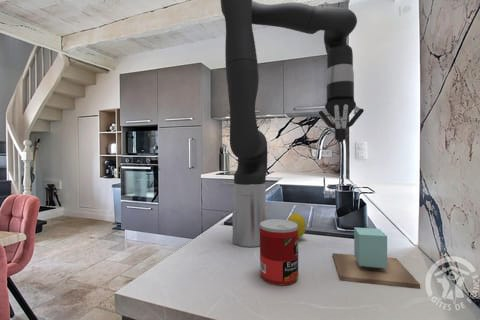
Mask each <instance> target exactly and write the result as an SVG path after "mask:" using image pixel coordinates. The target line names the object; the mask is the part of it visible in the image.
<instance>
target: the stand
mask: <svg viewBox="0 0 480 320" xmlns="http://www.w3.org/2000/svg"><path fill="white" fill-rule="evenodd" d="M332 259H333V261H334V262H333V263H334V265H335V268H336V271H337V275H338V277H339V281H344V282H345V281H346V282H353V283H364V284H372V285H373V284H375V285H383V286H394V287H402V288H403V287H404V288H411V289H413V288H414V289H421V283H420V282H419V281H418V280H417V279H416V278H415V277H414V276H413V274H412V273H411V272H410V271H409V270H407V268H406V267H405V266H404V264H402V263H401V261H399V260H398V259H397V258H396V257H388V256H387V268H378V267H366V266H359V264H358V262H357V260H356V258H355V256H354V254H347V253H336V252H332Z"/></svg>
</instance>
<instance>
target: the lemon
mask: <svg viewBox="0 0 480 320" xmlns="http://www.w3.org/2000/svg"><path fill="white" fill-rule="evenodd" d="M287 220H289V221H292V222H295V223H296V224H297V225H298V239H299V238H301V237H303V236H304V234H305V232H306V227H307V226H306V221H305V218H304V217H303V216H302V215H301V214H300V213H298V212H294V213H293V214H292V213H291V214H290V215H289V217H288V218H287Z"/></svg>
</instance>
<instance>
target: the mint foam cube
mask: <svg viewBox="0 0 480 320" xmlns="http://www.w3.org/2000/svg"><path fill="white" fill-rule="evenodd" d="M353 231H354V233H353V237H354V238H353V240H354V241H353V243H354V250H353V251H354V252H353V253H354V254H353V255H354V256H355V258H356V260H357V262H358V264H359V266H366V267H378V268H387V257H388V235H387V234H385V232H383V231H382V230H381V229H380V228H373V227H372V228H369V227H354V228H353Z"/></svg>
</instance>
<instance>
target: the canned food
mask: <svg viewBox="0 0 480 320" xmlns="http://www.w3.org/2000/svg"><path fill="white" fill-rule="evenodd" d="M259 266H260V267H259V270H260V271H259V272H260V275H261V278H262V279H263V280H264V281H265V282H267V283H269V284H272V285H276V286H287V285H288V286H289V285H292V284H294V283H296V282H297V280H298V278H299V238H298V225H297V224H296V223H295V222H292V221H289V220H288V219H277V218H275V219H273V218H272V219H266V220H265V221H262V222H261V223H260V246H259Z"/></svg>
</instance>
